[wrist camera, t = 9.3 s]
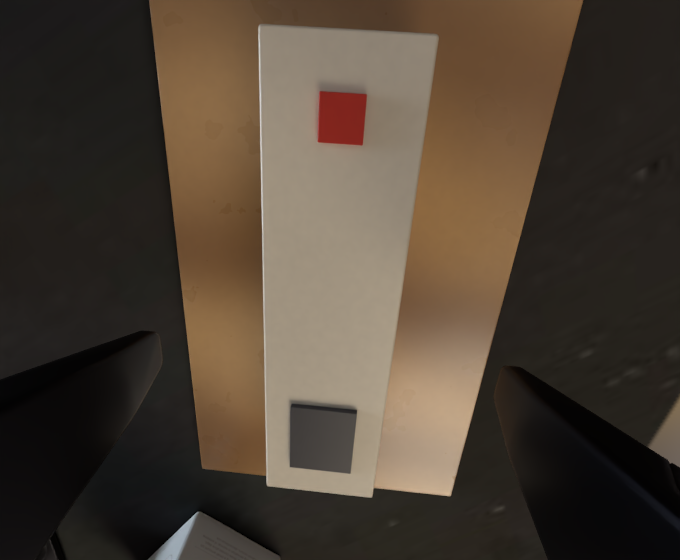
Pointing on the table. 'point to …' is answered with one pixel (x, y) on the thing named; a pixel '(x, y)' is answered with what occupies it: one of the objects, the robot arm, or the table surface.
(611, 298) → the table surface
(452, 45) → the cork mat
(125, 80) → the table surface
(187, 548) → the small box
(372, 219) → the remote
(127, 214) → the table surface
